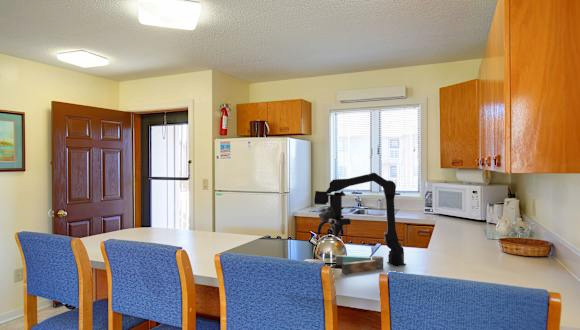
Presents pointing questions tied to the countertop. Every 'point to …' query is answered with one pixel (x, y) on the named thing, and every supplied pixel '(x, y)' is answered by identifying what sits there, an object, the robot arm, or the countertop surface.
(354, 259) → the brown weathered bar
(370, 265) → the wooden block
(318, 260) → the charger
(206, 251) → the countertop surface
